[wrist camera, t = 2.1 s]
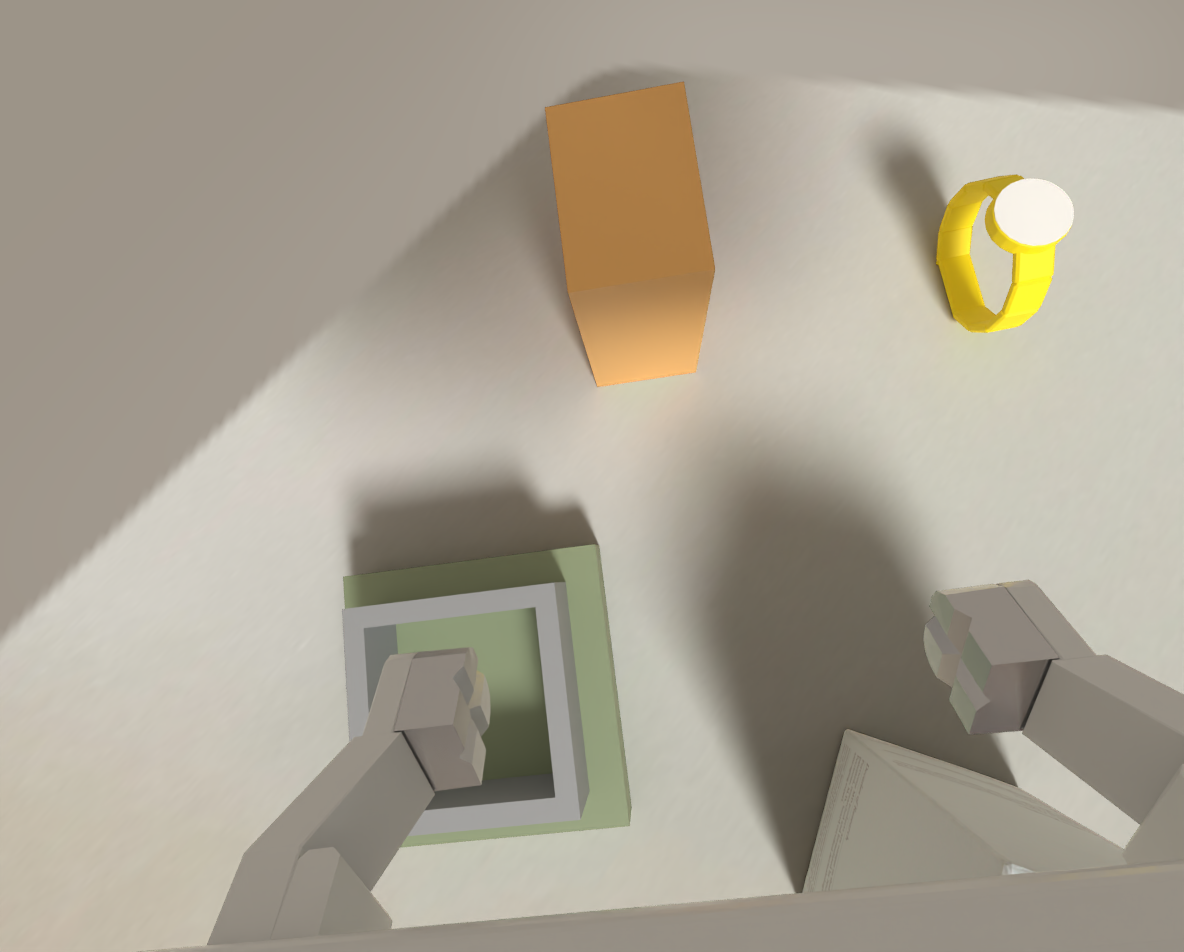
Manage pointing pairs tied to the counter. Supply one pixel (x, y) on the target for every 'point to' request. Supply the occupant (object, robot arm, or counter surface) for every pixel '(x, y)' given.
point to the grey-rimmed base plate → (507, 686)
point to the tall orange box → (633, 231)
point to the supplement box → (936, 824)
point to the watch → (1003, 246)
